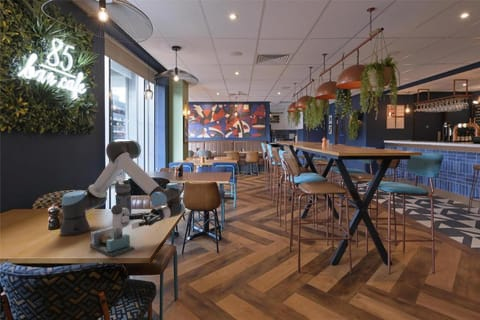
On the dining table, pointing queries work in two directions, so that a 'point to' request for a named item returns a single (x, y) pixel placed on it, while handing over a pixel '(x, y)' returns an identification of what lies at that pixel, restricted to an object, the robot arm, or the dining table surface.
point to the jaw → (117, 231)
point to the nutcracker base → (102, 247)
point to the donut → (125, 212)
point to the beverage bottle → (123, 195)
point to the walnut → (106, 238)
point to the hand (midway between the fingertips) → (124, 223)
